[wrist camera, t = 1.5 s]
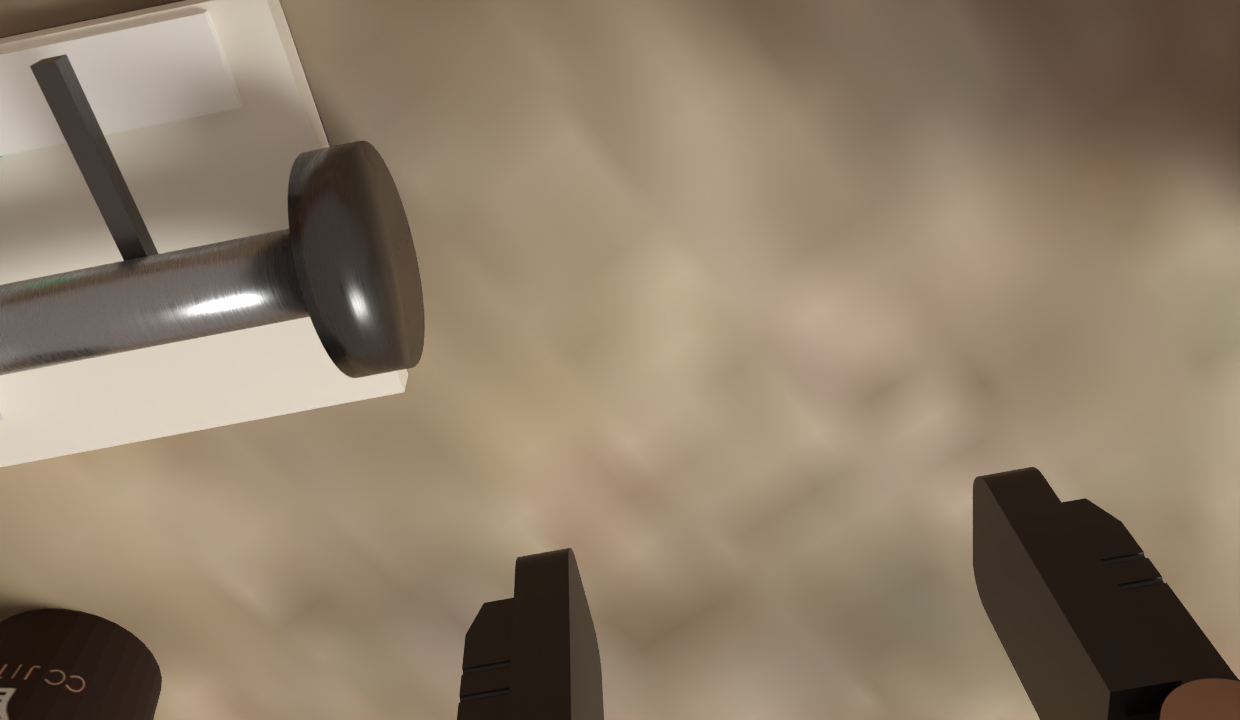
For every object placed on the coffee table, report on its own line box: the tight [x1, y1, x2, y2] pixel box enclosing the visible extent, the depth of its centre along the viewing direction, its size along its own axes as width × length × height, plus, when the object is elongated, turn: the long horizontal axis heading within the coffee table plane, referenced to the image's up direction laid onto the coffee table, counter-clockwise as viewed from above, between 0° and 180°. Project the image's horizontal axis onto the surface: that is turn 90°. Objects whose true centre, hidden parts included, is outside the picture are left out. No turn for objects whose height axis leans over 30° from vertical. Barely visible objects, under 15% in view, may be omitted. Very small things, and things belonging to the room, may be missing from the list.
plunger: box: [0, 54, 424, 378], centre depth 24 cm, size 14×9×6 cm, turn 100°
